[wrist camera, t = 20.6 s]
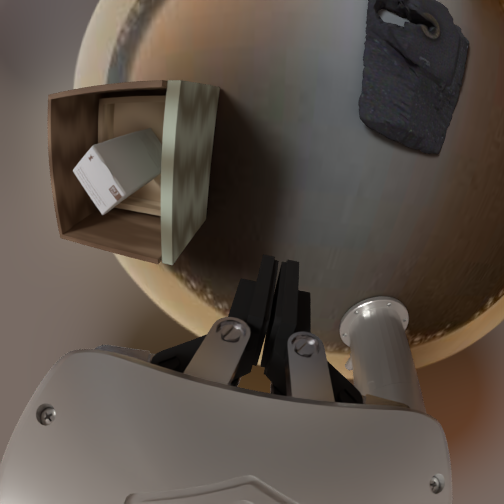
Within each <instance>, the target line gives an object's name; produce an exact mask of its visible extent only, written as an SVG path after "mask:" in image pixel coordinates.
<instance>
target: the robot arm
mask: <svg viewBox="0 0 504 504" xmlns="http://www.w3.org/2000/svg"><path fill="white" fill-rule="evenodd" d="M274 258H275V257H273V256H268V255H263V257H262V262H261V266H260V270H259V274H258V278H257V282H255V281H251V280H246V279H240V282H239V285H238V288H237V291H236V294H235V297H234V300H233V304H232V307H231V310H230V313H229V316H228V317H225V318H221V319H219V320H217V321H216V322H215V323H214V324H213V326H212V327H211V329H210V331H209V332H208V334H207V335H204V336H202V337H199V338H196V339H194V340H191V341H188V342H185V343H183V344H180V345H177V346H175V347H172V348H169V349H166V350H163V351H161V352H159V353H157V354H150V352H149V351H145V350H137V349H130V348H124V347H117V346H111V345H101V346H98V347H96V348H95V349H79V350H74V351H70V352H68V353H67V354H65V355H64V356H62V357H61V358H60V359H59V360H58V361H57V362H56V363H55V364H54V365H53V367H52V368H51V369H50V370H49V372H48V373H47V374H46V376H45V377H44V379H43V380H42V382H41V383H40V384H39V386H38V388H37V389H36V391H35V392H34V394H33V396H32V397H31V399H30V401H29V403H28V404H27V406H26V408H25V410H24V412H23V414H22V415H21V418H20V420H19V421H18V423H17V425H16V427H15V429H14V431H13V434H12V436H11V438H10V441H9V443H8V446H7V448H6V451H5V453H4V456H3V458H2V461H1V464H0V504H452V474H451V464H450V456H449V450H448V445H447V441H446V438H445V434H444V431H443V429H442V426H441V425H440V423H439V422H438V421H437V420H436V419H435V418H433V417H432V416H430V415H428V414H426V410H425V406H424V402H423V398H422V393H421V389H420V385H419V381H418V377H417V373H416V369H415V365H414V361H413V358H412V354H411V350H410V347H409V344H408V340H407V337H406V334H405V329H406V328H407V325H408V321H409V316H408V312H407V309H406V307H405V306H404V304H403V303H402V302H400V301H399V300H397V299H395V298H392V297H384V296H380V297H373V298H369V299H366V300H364V301H361V302H359V303H358V304H356V305H354V306H353V307H352V308H350V309H349V310H348V311H347V312H346V313H345V315H344V316H343V318H342V320H341V323H340V328H339V329H340V336H341V339H342V340H343V342H344V343H345V344H346V345H347V346H349V347H351V353H350V356H351V357H350V358H349V359H348V361H347V362H346V364H345V367H346V369H348V370H353V376H354V386H353V385H352V384H351V383H350V382H349V381H348V380H347V379H346V378H345V377H344V376H343V375H342V374H341V373H340V372H338V371H337V370H336V369H335V368H334V367H333V366H332V365H331V364H330V363H329V362H328V361H327V359H326V354H325V349H324V345H323V343H322V341H321V340H320V339H319V338H318V337H317V336H315V335H314V334H312V333H310V293H309V292H304V291H299V290H298V281H299V262H297V261H292V260H287V262H282V264H281V268H280V272H279V276H278V280H277V284H276V288H275V282H276V276H277V269H278V262H279V261H277V260H274ZM274 289H275V292H274ZM266 331H267V332H266ZM265 335H266V337H265ZM264 338H265V343H264V349H263V355H262V360H261V367H265V370H264V374H265V375H266V376H267V377H268V378H269V379H270V381H271V387H270V388H271V394H269V393H264V392H258V391H253V390H249V389H244V388H239V387H237V386H238V384H239V381H240V378H241V377H242V376H244V375H246V374H248V373H250V372H251V369H252V365H255V366H256V365H257V363H258V359H259V356H260V352H261V349H262V345H263V342H264Z"/></svg>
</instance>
